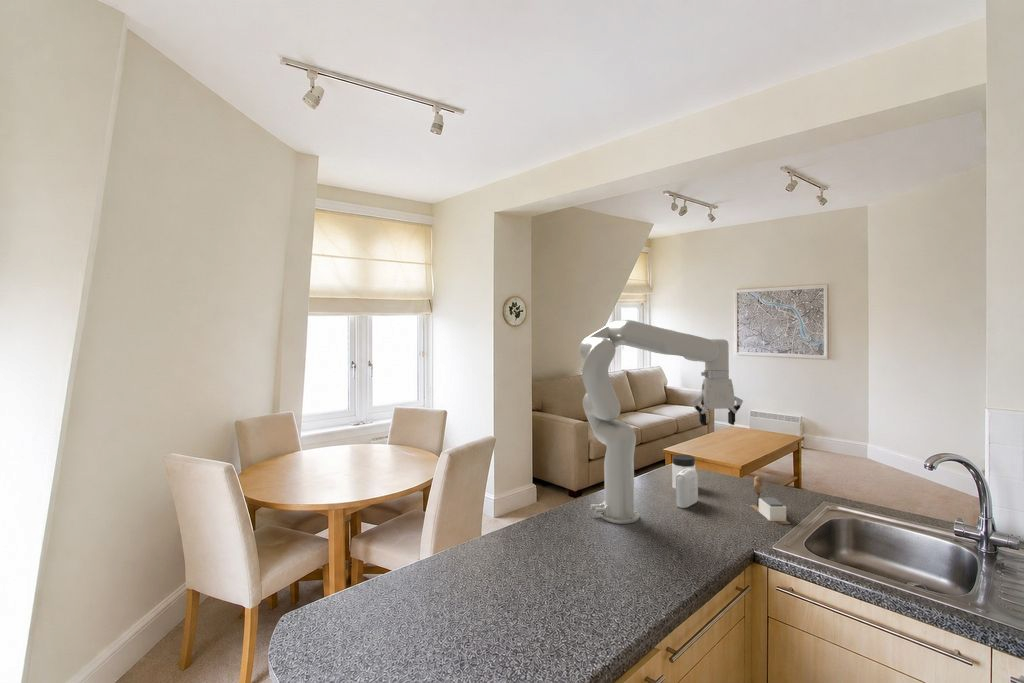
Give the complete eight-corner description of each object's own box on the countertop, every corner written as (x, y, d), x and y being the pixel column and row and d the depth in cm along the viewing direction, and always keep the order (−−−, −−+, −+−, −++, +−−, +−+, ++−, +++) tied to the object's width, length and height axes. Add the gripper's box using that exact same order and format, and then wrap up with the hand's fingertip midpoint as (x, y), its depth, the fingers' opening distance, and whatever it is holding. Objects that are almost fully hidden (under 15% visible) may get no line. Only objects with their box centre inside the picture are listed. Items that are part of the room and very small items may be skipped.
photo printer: (688, 498, 175) (687, 464, 175) (699, 501, 172) (699, 467, 172) (674, 506, 168) (673, 471, 168) (685, 509, 165) (685, 473, 165)
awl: (756, 507, 165) (756, 477, 164) (752, 504, 167) (752, 475, 167) (764, 507, 165) (763, 477, 164) (760, 504, 167) (759, 474, 167)
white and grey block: (769, 521, 153) (769, 505, 153) (758, 511, 161) (758, 496, 161) (786, 521, 153) (786, 505, 153) (774, 511, 161) (774, 496, 161)
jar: (674, 483, 193) (674, 453, 193) (696, 485, 189) (696, 455, 189) (670, 489, 185) (670, 458, 185) (693, 492, 181) (693, 461, 181)
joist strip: (775, 524, 151) (774, 523, 151) (749, 505, 167) (749, 505, 167) (790, 524, 151) (790, 523, 151) (764, 505, 167) (764, 504, 167)
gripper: (696, 376, 163) (696, 427, 163) (747, 375, 163) (747, 426, 163) (687, 374, 170) (688, 422, 171) (736, 373, 170) (737, 421, 171)
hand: (717, 424), depth 167 cm, fingers open, 9 cm apart
